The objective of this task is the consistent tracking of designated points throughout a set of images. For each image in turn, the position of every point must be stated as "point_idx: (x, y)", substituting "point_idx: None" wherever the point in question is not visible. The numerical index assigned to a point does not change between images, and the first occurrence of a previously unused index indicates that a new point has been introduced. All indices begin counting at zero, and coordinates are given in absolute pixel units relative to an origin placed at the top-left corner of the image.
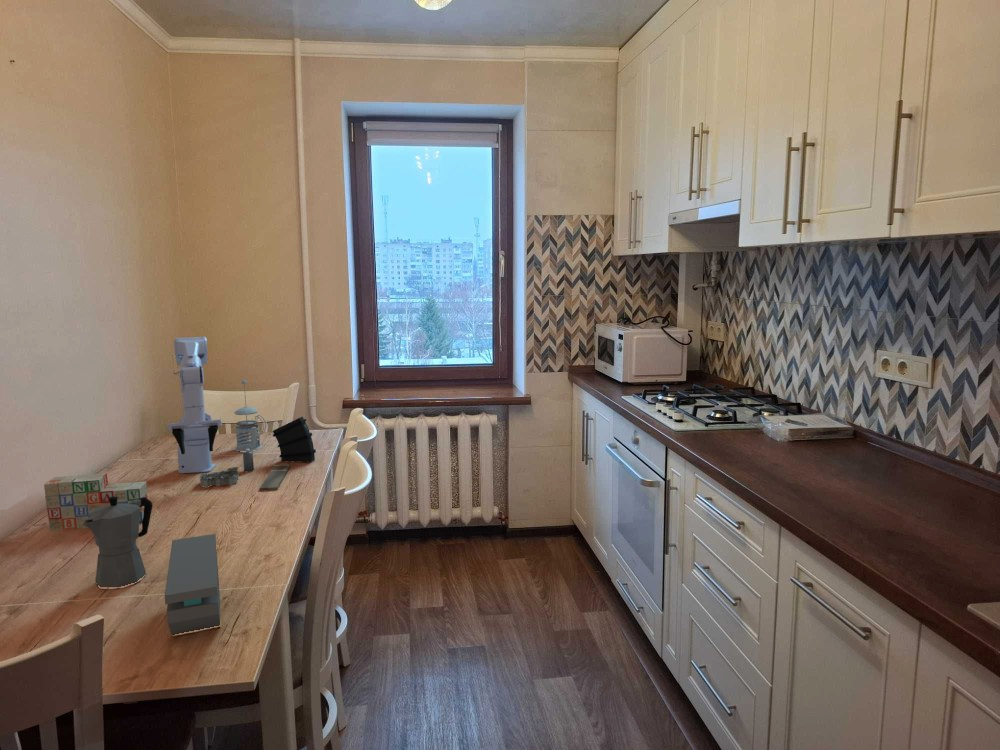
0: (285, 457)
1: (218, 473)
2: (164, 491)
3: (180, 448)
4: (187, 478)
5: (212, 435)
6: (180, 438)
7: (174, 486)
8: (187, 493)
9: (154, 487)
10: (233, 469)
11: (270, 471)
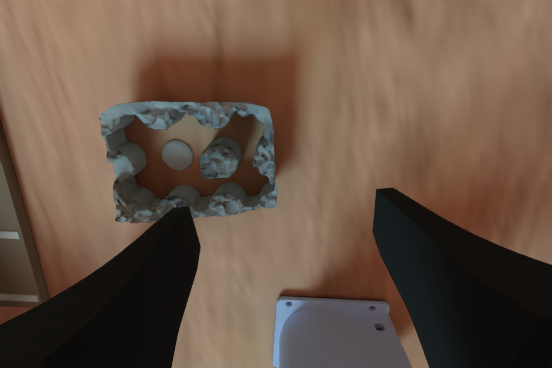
0: None
1: (210, 206)
2: (417, 81)
3: (419, 206)
4: (346, 241)
5: (74, 295)
6: (470, 262)
7: (383, 147)
8: (309, 19)
9: (463, 152)
10: (136, 208)
11: (19, 231)
